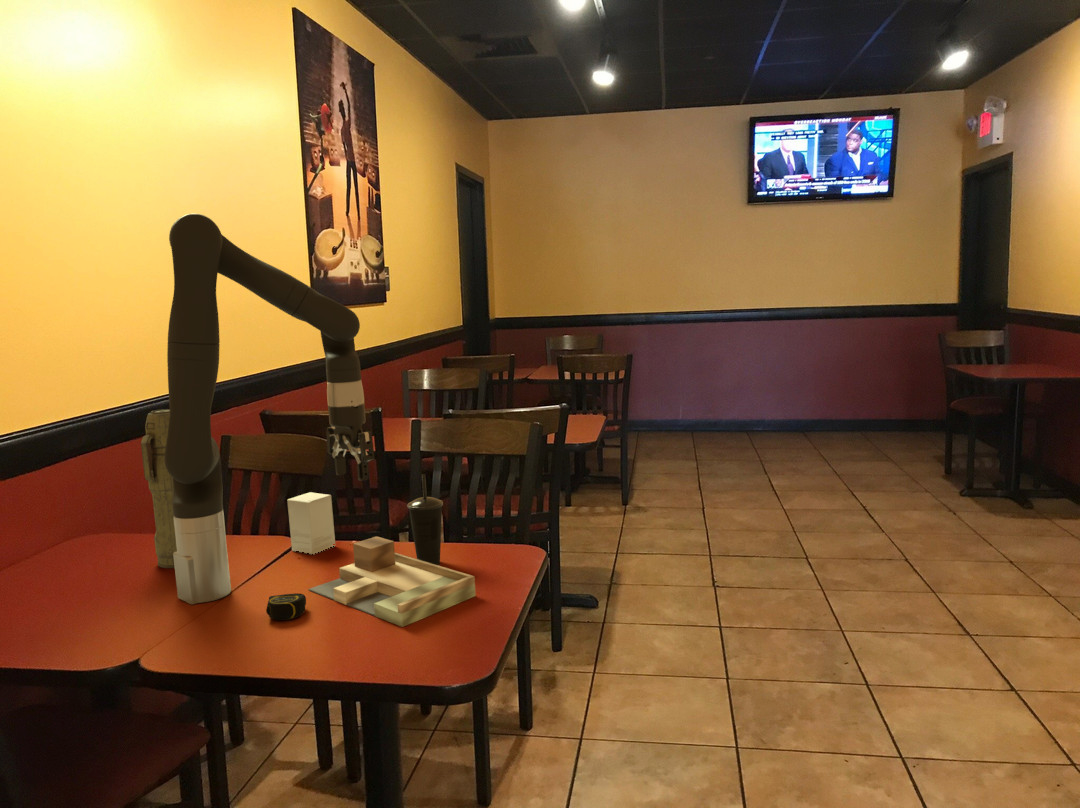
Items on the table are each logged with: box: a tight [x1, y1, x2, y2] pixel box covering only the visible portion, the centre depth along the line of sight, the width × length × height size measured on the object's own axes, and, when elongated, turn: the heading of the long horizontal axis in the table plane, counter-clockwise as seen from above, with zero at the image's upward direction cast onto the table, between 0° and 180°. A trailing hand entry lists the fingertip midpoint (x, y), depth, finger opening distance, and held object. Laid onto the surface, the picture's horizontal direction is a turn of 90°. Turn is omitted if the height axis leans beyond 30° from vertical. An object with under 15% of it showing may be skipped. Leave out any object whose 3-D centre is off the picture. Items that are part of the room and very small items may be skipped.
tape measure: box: [265, 593, 307, 621], centre depth 152 cm, size 7×7×4 cm
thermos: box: [140, 408, 177, 569], centre depth 183 cm, size 9×12×35 cm
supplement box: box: [287, 491, 336, 555], centre depth 191 cm, size 7×7×13 cm
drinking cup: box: [406, 473, 444, 566], centre depth 176 cm, size 8×8×20 cm
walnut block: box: [352, 536, 396, 572], centre depth 170 cm, size 6×6×5 cm
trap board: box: [308, 552, 476, 628], centre depth 161 cm, size 18×30×4 cm, turn 48°
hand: (352, 477), depth 174 cm, fingers open, 8 cm apart
